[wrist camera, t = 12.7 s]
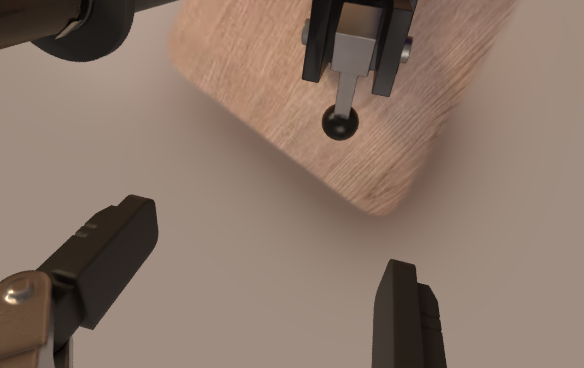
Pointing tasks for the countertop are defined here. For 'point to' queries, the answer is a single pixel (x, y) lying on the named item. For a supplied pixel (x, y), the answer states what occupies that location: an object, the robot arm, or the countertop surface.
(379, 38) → the bracket
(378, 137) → the countertop surface
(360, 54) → the lever
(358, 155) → the countertop surface
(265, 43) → the countertop surface
